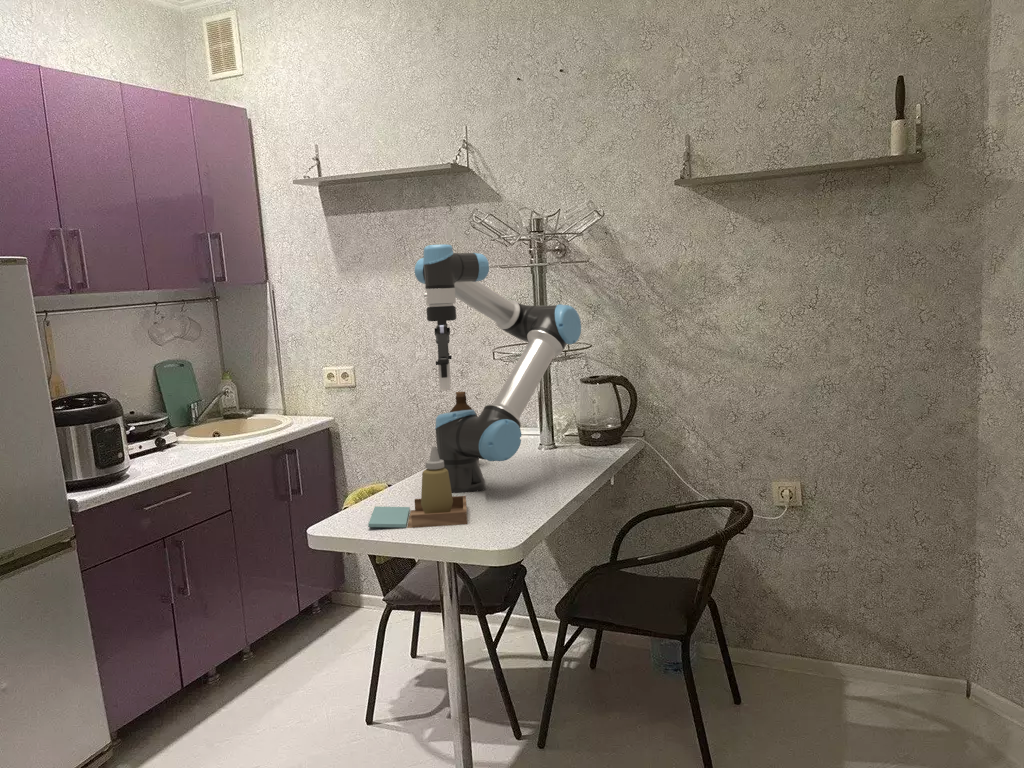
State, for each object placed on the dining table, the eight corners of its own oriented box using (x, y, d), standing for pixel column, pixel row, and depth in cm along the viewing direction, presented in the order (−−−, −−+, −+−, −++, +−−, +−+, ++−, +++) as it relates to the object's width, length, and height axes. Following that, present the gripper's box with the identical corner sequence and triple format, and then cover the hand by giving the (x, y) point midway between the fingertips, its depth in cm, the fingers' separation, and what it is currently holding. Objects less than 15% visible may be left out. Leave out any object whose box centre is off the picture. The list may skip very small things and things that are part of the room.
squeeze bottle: (448, 522, 188) (444, 450, 186) (417, 521, 190) (413, 450, 188) (457, 512, 196) (454, 443, 194) (428, 511, 198) (423, 443, 196)
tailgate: (409, 510, 200) (374, 509, 200) (409, 507, 200) (374, 506, 199) (405, 527, 185) (368, 526, 184) (405, 524, 185) (368, 523, 184)
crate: (410, 514, 200) (410, 499, 200) (466, 510, 201) (465, 495, 201) (407, 531, 185) (406, 515, 185) (467, 527, 186) (466, 512, 186)
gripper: (428, 305, 209) (432, 382, 212) (424, 306, 184) (429, 393, 187) (455, 304, 210) (459, 381, 212) (455, 305, 185) (460, 392, 187)
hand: (445, 387), depth 200 cm, fingers open, 13 cm apart
